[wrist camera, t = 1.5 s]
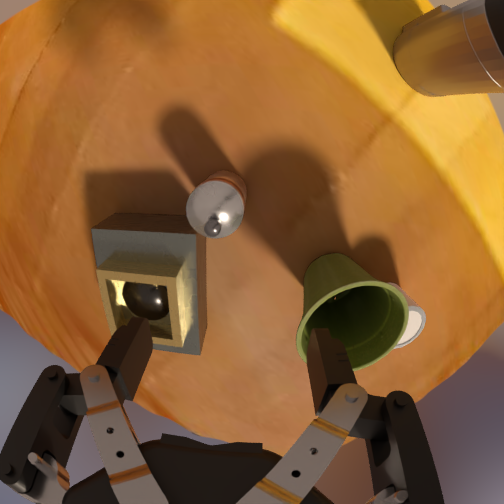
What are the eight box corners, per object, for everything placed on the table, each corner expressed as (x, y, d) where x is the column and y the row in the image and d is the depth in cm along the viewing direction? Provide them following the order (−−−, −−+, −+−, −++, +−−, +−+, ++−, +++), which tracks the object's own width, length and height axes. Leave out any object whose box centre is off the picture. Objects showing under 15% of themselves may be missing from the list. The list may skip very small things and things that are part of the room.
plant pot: (276, 309, 37) (282, 371, 27) (298, 226, 33) (317, 271, 22) (355, 319, 38) (379, 375, 28) (384, 244, 33) (427, 289, 23)
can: (203, 169, 30) (182, 182, 22) (248, 171, 30) (245, 185, 22) (201, 212, 32) (183, 241, 24) (245, 215, 32) (241, 245, 24)
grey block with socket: (114, 213, 32) (79, 237, 24) (206, 216, 32) (190, 244, 24) (130, 319, 39) (108, 356, 31) (207, 329, 39) (197, 372, 31)
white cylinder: (371, 276, 35) (390, 305, 29) (411, 279, 35) (434, 306, 29) (357, 318, 38) (371, 350, 31) (395, 318, 38) (413, 348, 32)
